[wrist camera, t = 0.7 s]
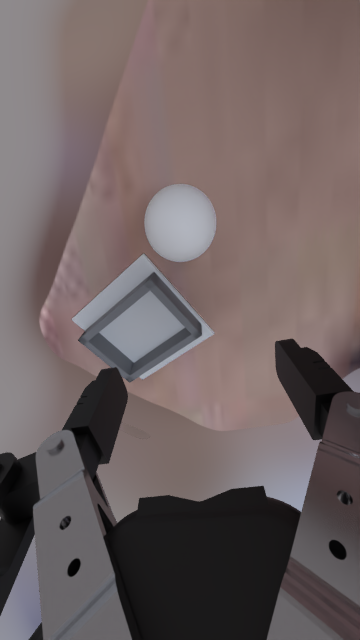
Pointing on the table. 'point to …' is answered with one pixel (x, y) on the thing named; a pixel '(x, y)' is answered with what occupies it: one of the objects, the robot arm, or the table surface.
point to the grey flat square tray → (140, 322)
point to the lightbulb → (180, 222)
